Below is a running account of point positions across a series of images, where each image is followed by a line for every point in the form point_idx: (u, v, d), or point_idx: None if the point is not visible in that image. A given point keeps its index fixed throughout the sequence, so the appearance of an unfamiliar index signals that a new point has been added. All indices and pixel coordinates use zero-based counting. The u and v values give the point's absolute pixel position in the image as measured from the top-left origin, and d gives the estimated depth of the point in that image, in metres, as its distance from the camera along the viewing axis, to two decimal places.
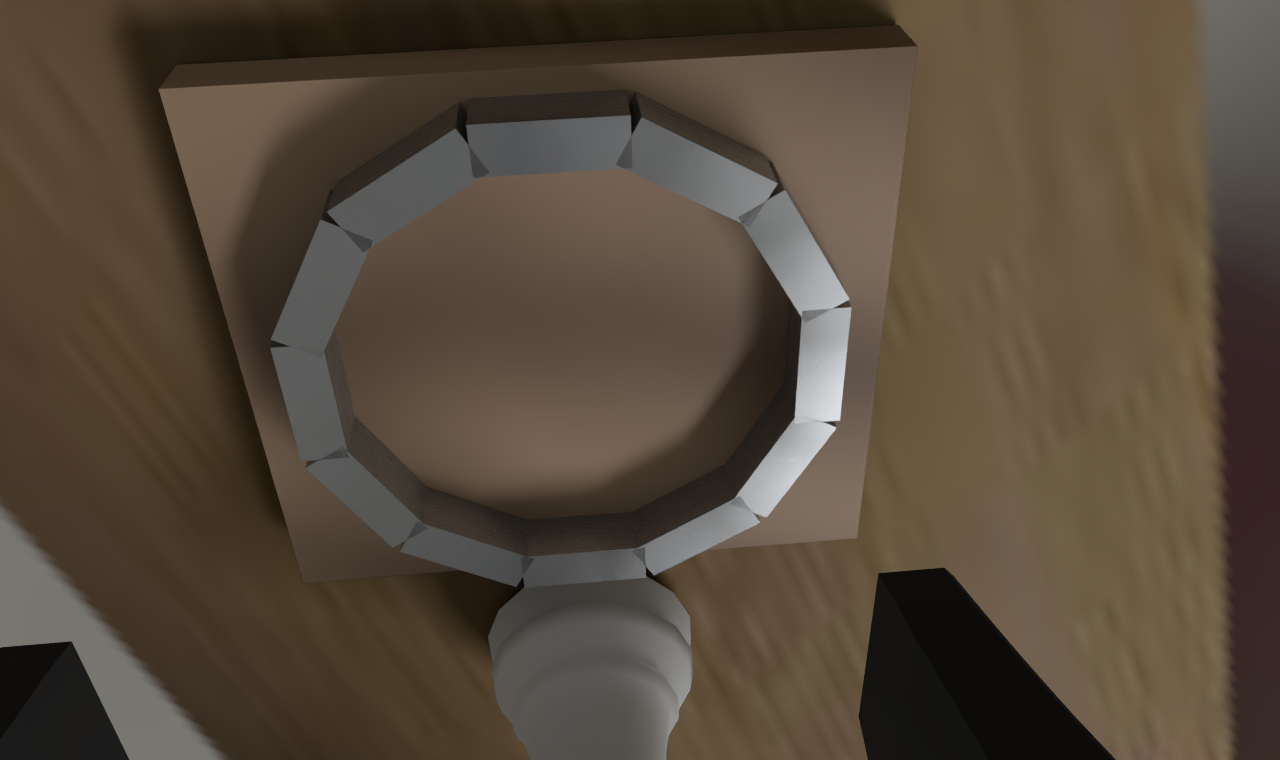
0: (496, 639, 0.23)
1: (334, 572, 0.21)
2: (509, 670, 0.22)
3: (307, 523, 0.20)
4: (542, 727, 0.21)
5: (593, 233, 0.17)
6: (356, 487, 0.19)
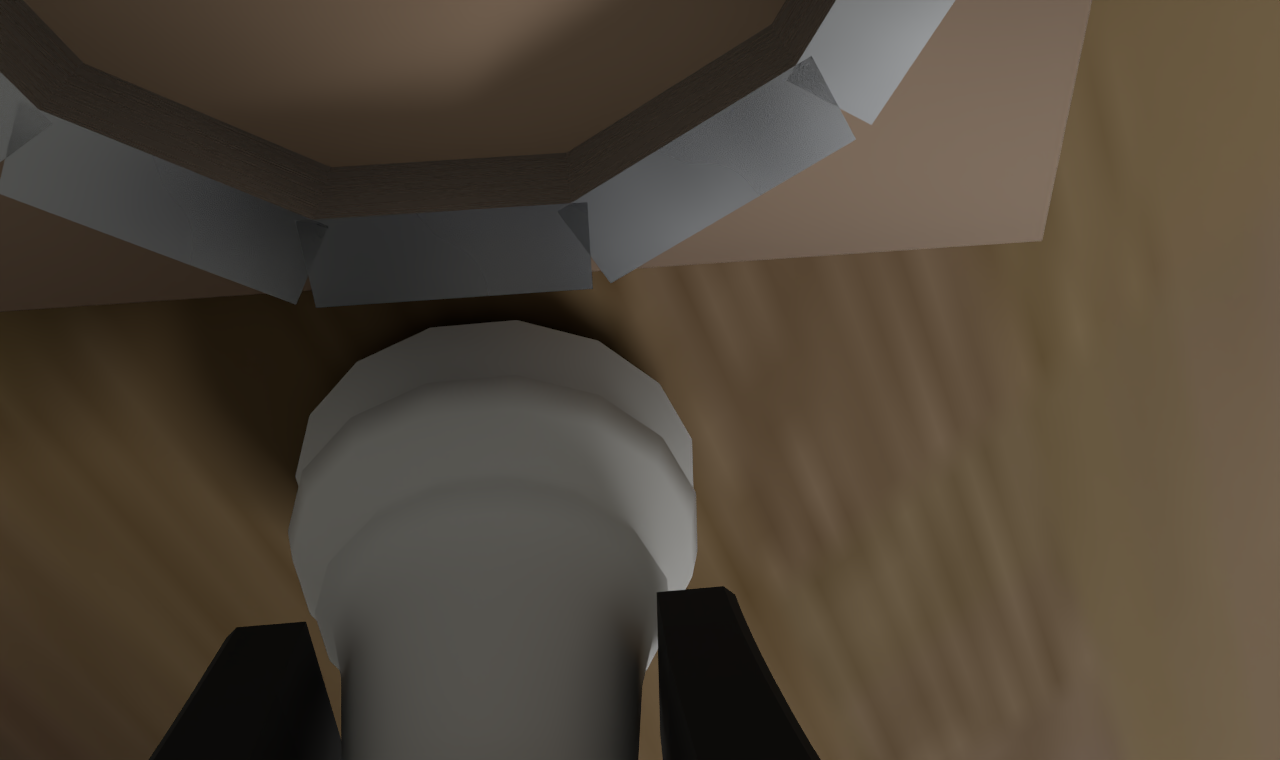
0: None
1: None
2: (313, 523, 0.11)
3: None
4: (364, 633, 0.09)
5: None
6: None
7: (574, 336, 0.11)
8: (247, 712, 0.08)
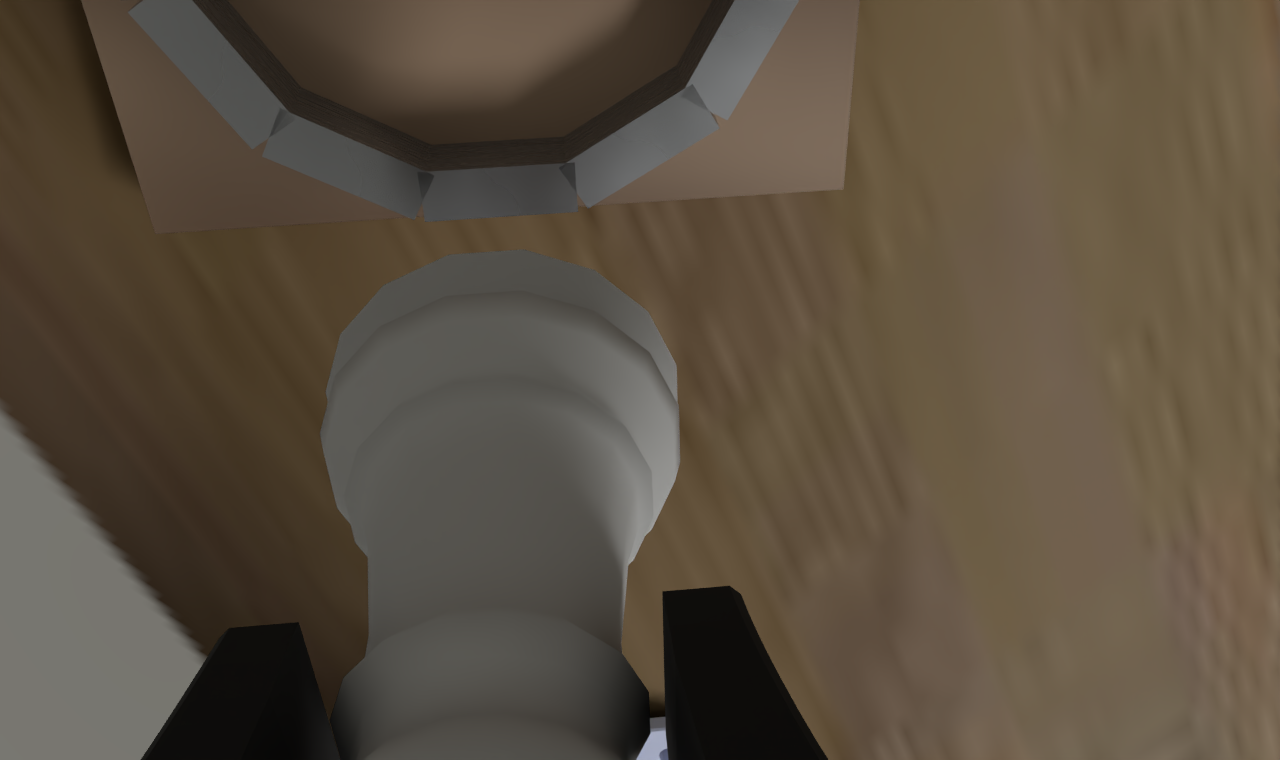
0: None
1: (192, 218, 0.17)
2: (345, 418, 0.12)
3: (151, 140, 0.16)
4: (390, 498, 0.11)
5: None
6: (197, 48, 0.15)
7: (574, 265, 0.13)
8: (239, 713, 0.08)
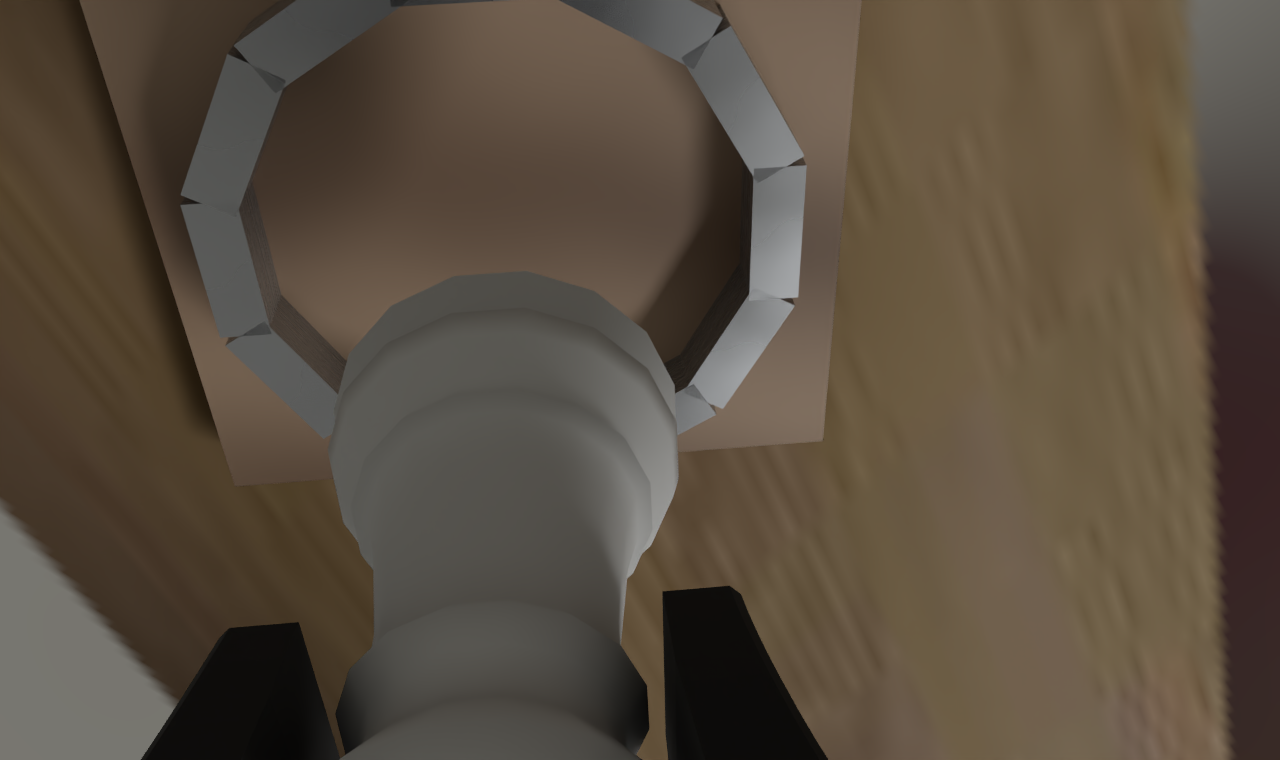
0: None
1: (267, 474, 0.20)
2: (353, 431, 0.12)
3: (235, 418, 0.19)
4: (396, 506, 0.11)
5: (529, 86, 0.16)
6: (281, 369, 0.18)
7: (575, 286, 0.13)
8: (239, 712, 0.08)
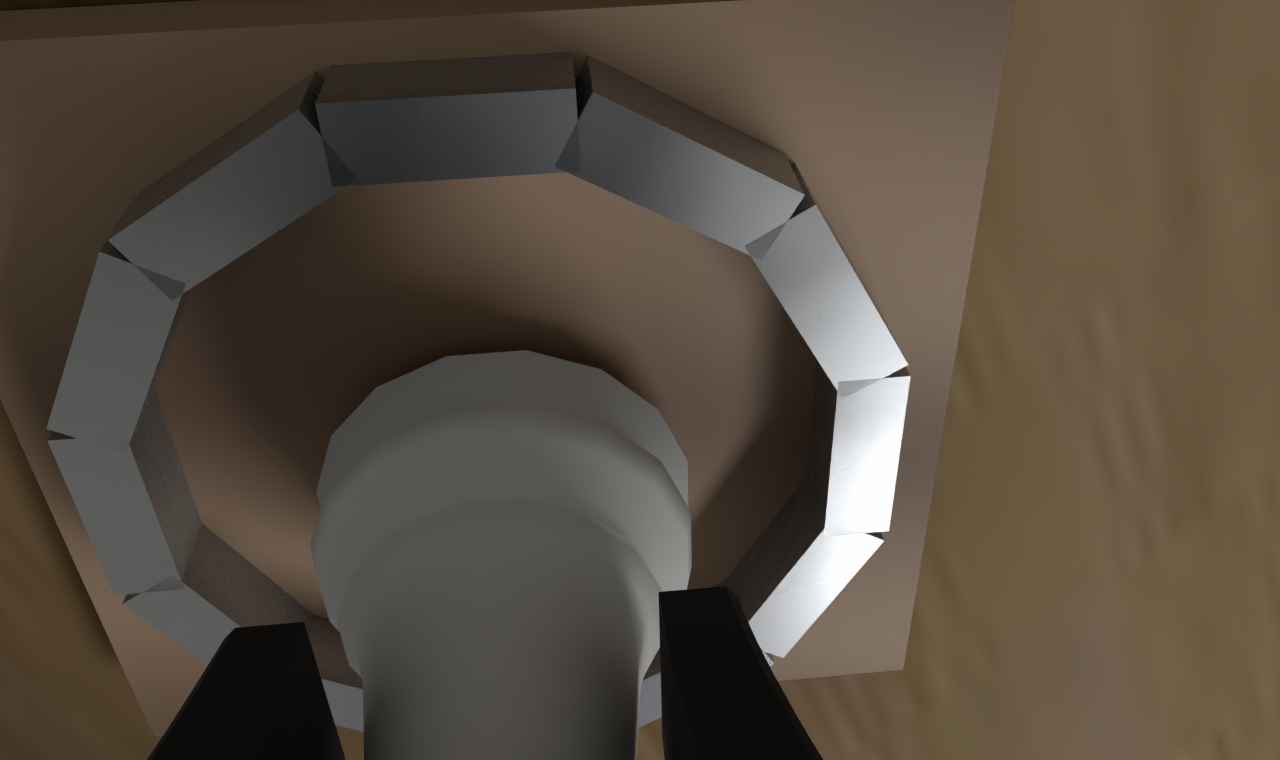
0: None
1: None
2: (338, 537, 0.11)
3: (149, 663, 0.15)
4: (386, 641, 0.10)
5: (531, 268, 0.12)
6: (200, 628, 0.13)
7: (580, 365, 0.12)
8: (244, 712, 0.08)
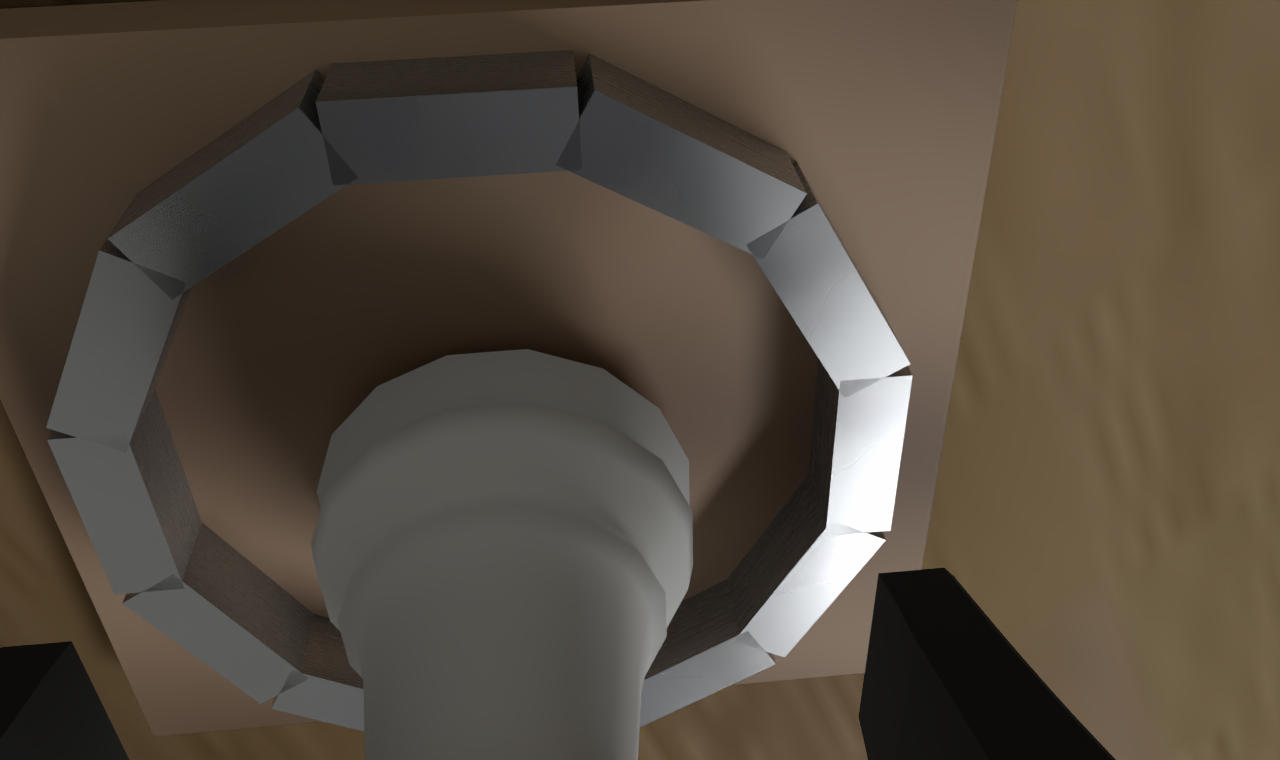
0: None
1: (194, 722, 0.16)
2: (338, 537, 0.11)
3: (149, 663, 0.15)
4: (386, 641, 0.10)
5: (532, 267, 0.12)
6: (200, 627, 0.13)
7: (581, 364, 0.12)
8: None
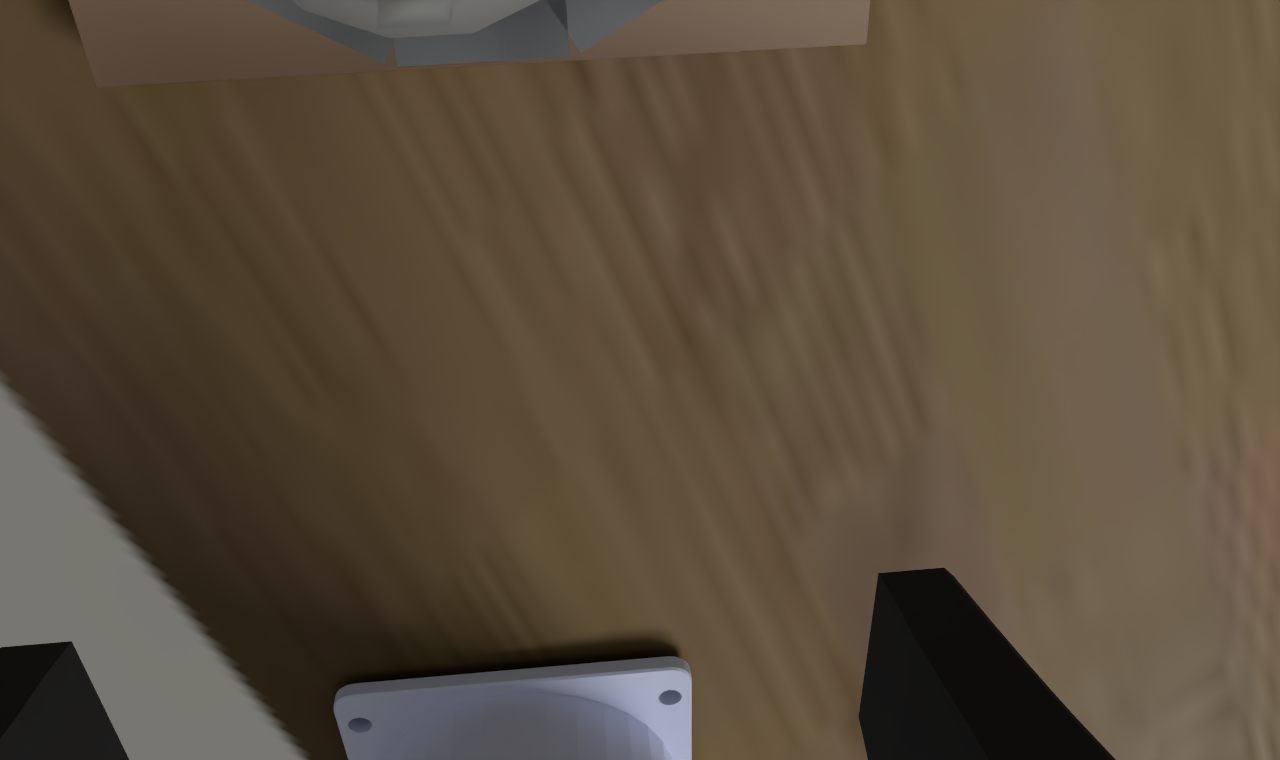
0: None
1: (138, 69, 0.15)
2: None
3: None
4: None
5: None
6: None
7: None
8: None
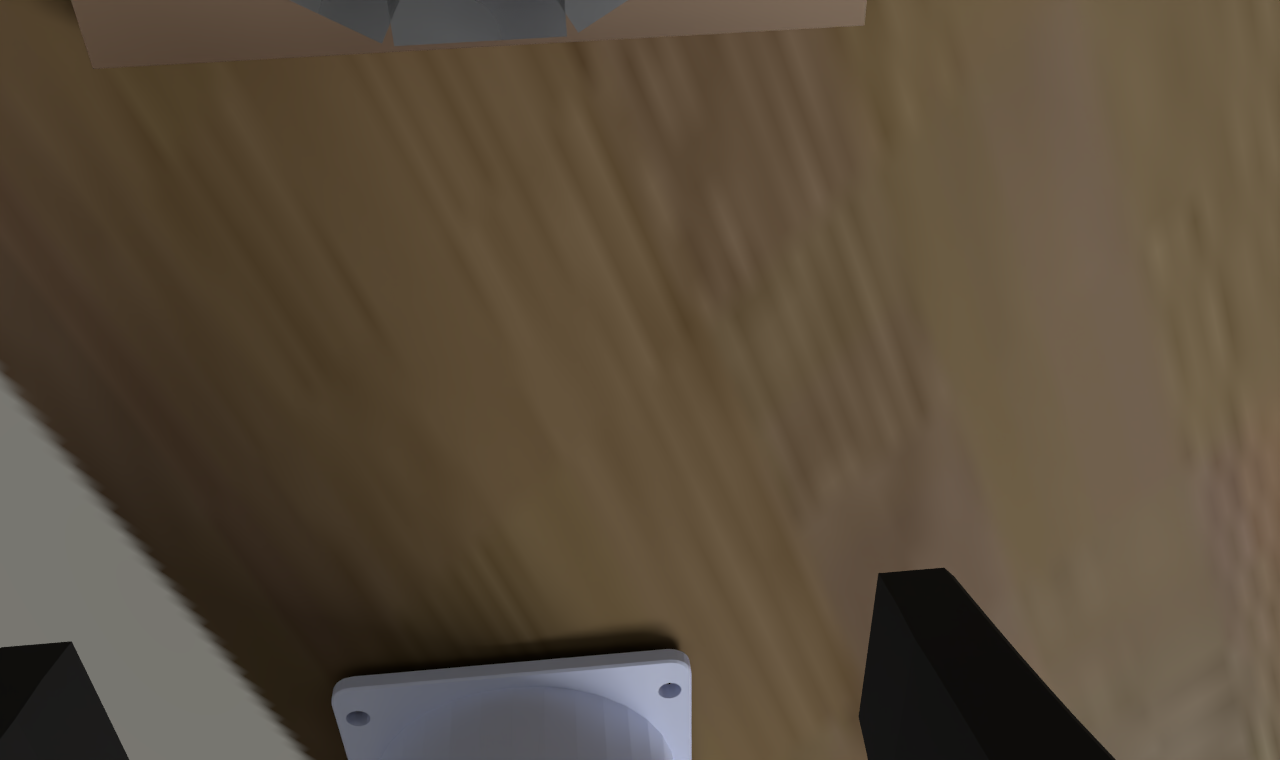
0: None
1: (134, 50, 0.15)
2: None
3: None
4: None
5: None
6: None
7: None
8: None
